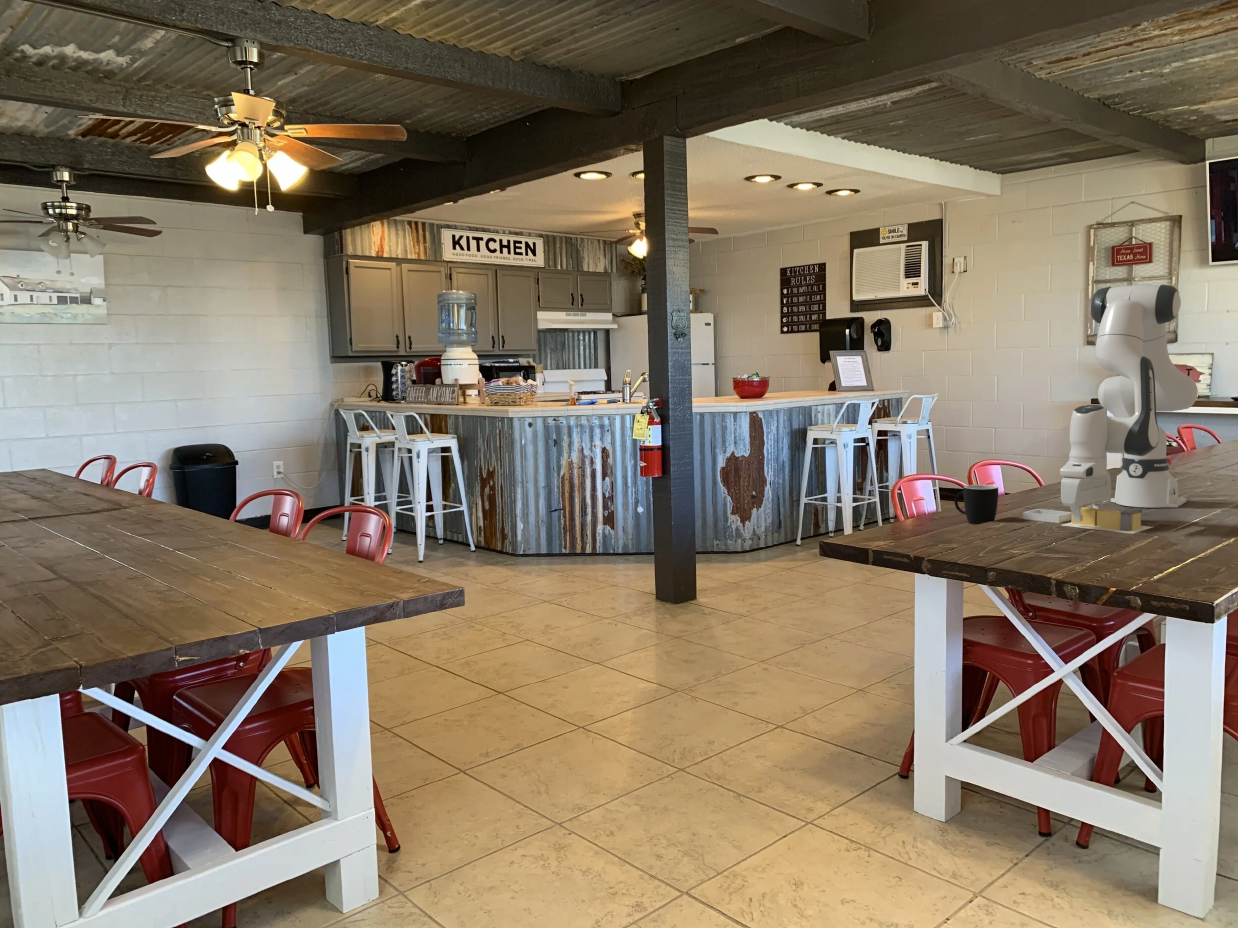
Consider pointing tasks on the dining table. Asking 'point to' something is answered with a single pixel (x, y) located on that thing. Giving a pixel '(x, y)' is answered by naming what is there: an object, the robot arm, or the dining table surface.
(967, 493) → the mug
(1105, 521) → the board
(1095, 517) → the stub
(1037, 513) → the stub tray
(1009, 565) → the dining table surface
